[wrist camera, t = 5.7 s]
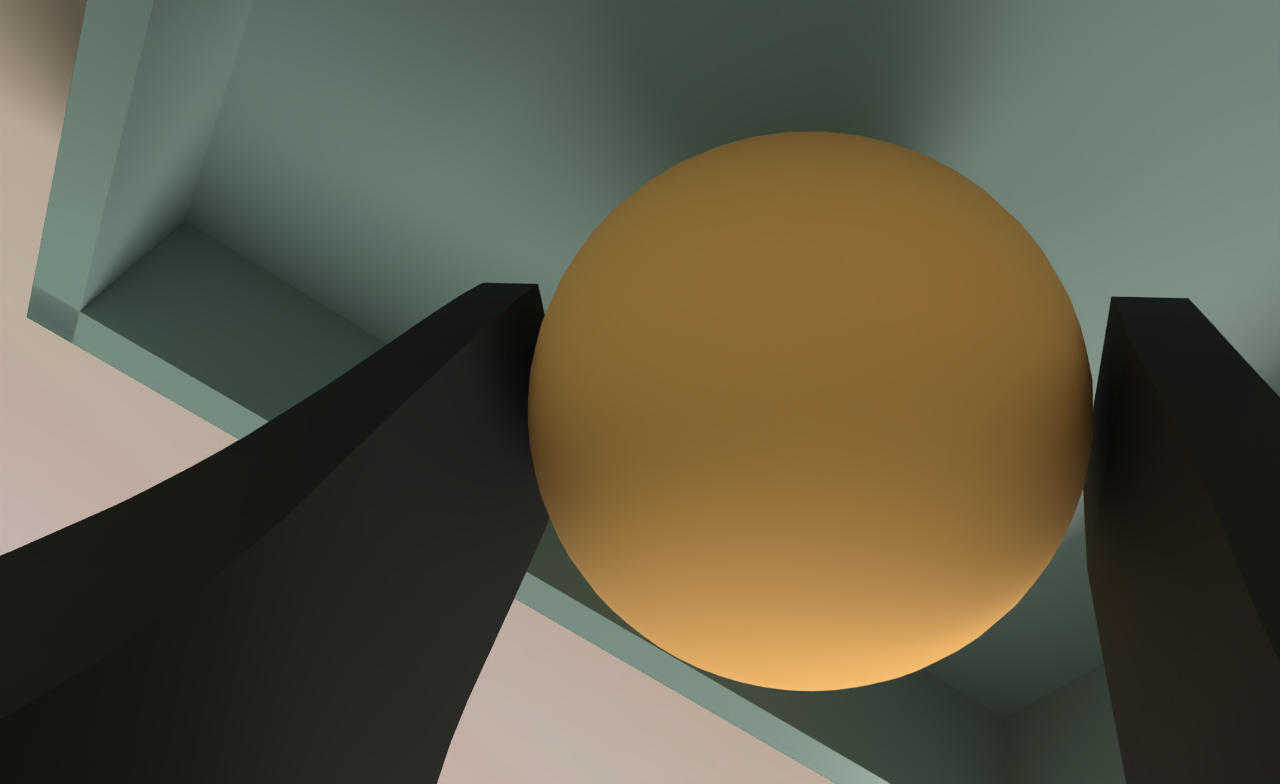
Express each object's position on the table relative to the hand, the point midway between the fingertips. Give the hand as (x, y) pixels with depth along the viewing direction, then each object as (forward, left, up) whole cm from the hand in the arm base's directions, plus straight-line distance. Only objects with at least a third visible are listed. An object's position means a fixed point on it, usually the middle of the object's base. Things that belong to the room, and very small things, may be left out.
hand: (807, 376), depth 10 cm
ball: (0, 0, -2) cm, 2 cm away
